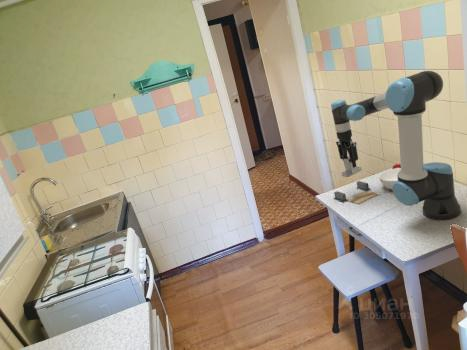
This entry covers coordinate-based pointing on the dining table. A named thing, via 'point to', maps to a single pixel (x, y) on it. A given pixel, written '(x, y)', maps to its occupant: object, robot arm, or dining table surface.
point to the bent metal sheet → (349, 168)
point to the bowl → (389, 177)
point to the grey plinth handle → (360, 185)
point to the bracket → (396, 166)
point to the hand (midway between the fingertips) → (351, 172)
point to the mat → (363, 197)
